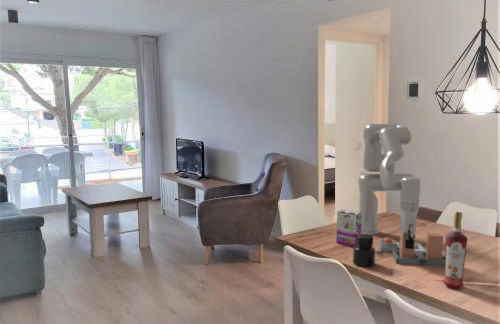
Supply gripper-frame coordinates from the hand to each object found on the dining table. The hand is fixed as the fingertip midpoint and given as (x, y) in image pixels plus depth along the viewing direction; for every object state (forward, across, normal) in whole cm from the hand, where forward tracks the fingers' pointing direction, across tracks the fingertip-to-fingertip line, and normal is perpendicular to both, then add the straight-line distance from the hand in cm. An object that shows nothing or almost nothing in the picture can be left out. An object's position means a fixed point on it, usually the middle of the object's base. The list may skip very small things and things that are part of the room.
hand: (406, 244), depth 182 cm
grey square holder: (+8, -13, -5) cm, 16 cm away
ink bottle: (+8, +6, -18) cm, 21 cm away
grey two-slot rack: (+7, +1, +6) cm, 9 cm away
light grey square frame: (+8, -13, +5) cm, 16 cm away
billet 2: (+7, +1, +11) cm, 13 cm away
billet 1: (+7, 0, 0) cm, 7 cm away
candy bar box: (+8, -20, -22) cm, 31 cm away
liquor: (+7, +25, +12) cm, 28 cm away
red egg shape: (+6, -13, -5) cm, 16 cm away
